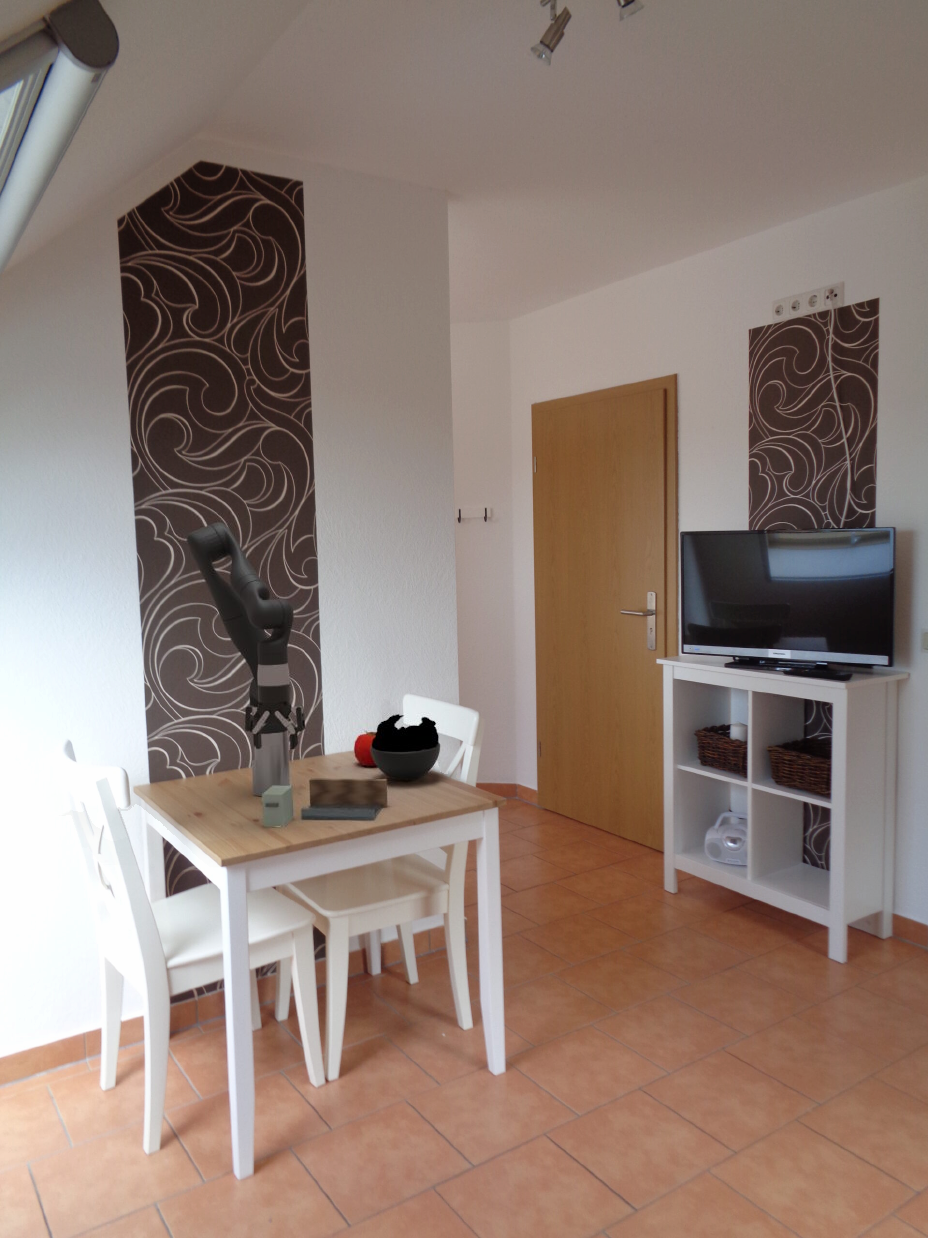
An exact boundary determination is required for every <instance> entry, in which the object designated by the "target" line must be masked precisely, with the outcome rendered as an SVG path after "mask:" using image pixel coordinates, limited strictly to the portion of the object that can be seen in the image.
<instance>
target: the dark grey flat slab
mask: <svg viewBox="0 0 928 1238" xmlns="http://www.w3.org/2000/svg"><path fill="white" fill-rule="evenodd" d="M382 809H383V807H382V804H313V805H312V806H311V807H310V806H309V807H306V806H305V807H303V806H302V807H301V809H300V810H301V811H300V812H301V813H300V814H301V815H300V816H301V817H300V818H301V820H325V821H327V820H330V821H332V820H335V821H340V820H341V821H374V820H375V819H376V817H377V816H378V815H379V813H380V812H381V810H382Z"/></svg>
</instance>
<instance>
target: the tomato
mask: <svg viewBox="0 0 928 1238" xmlns="http://www.w3.org/2000/svg"><path fill="white" fill-rule="evenodd" d="M376 732H377V731H369V732H368V731H367V730H364V733H363V734H359V735H358V736H357V738H356V740H355V741H354V747H353V753H354V757H355V759H356V761H357V762H359V763H360V764H361V765H363V766H366V767H371V766H372V767H375V766H376V764H375V762H374V760H373V758H372V755H371V750H370V746H371V745H372V741H373V738H375V734H376Z"/></svg>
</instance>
